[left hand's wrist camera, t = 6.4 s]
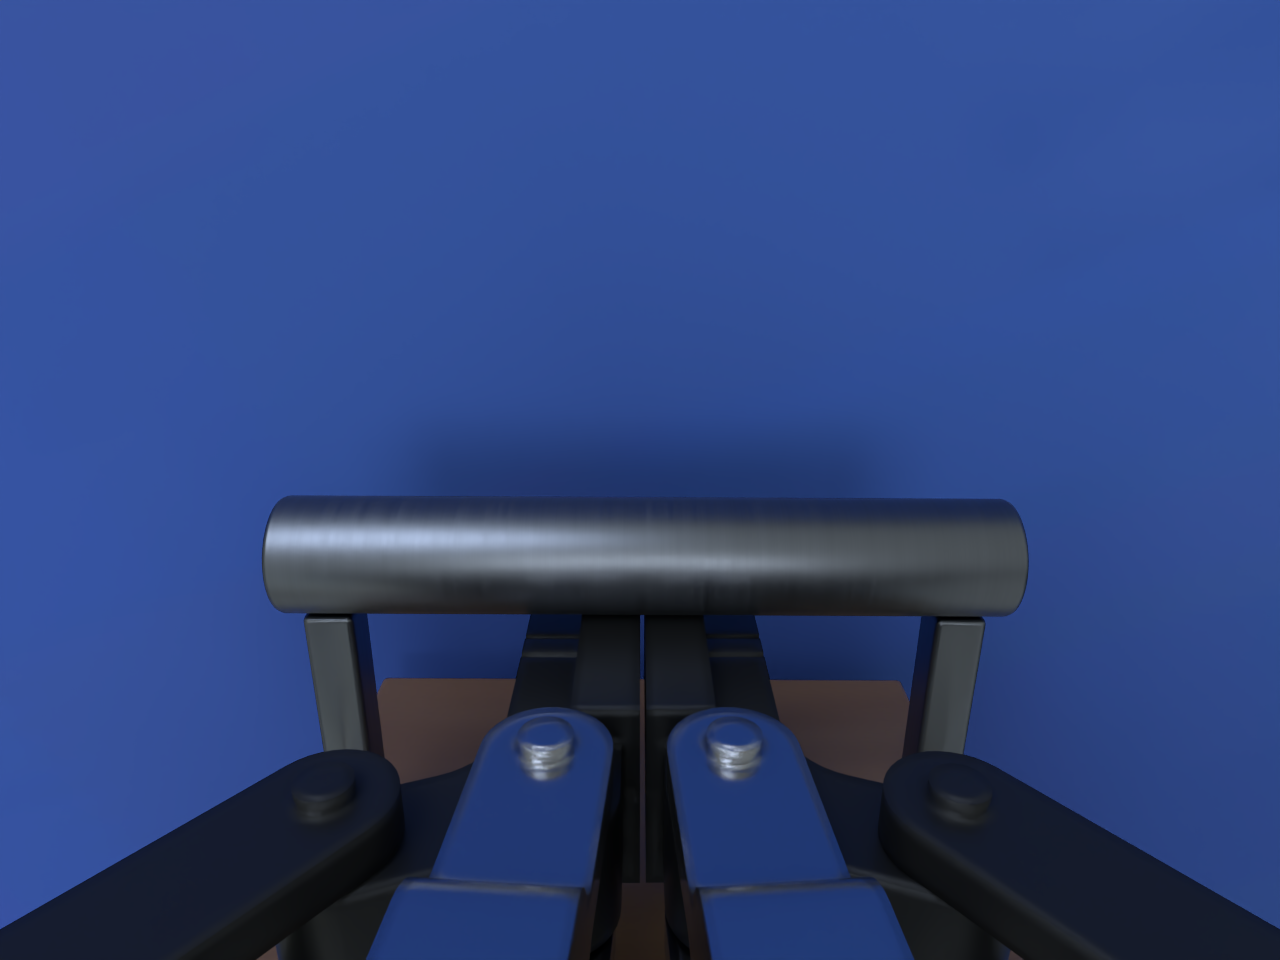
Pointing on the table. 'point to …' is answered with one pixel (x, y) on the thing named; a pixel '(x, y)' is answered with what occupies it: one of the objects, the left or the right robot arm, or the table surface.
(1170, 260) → the table surface
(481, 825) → the left robot arm
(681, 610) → the drawer
